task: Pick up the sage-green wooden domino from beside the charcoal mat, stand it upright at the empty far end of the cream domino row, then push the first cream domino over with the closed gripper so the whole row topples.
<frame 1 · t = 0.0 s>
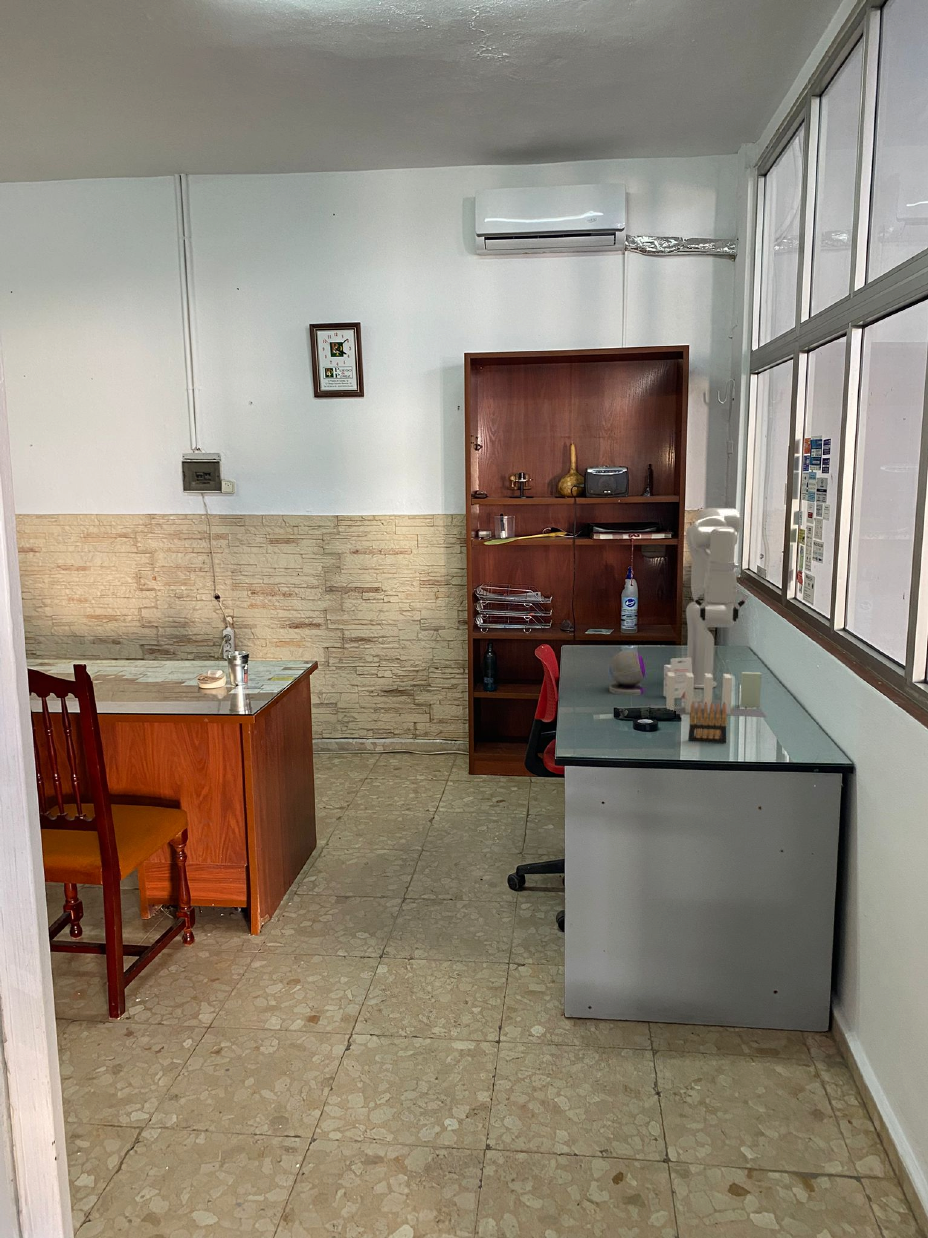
hand: (718, 620, 291), 31 cm above the table, tool pointing down, fingers open, 9 cm apart
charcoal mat: (707, 712, 299), on the table
webcam: (626, 691, 330), on the table
ammunition clip: (707, 742, 266), on the table
cream domino 2: (688, 710, 299), point 1 cm above the table, touching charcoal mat
ink cartridge box: (676, 698, 319), on the table
cream domino 4: (726, 711, 298), point 1 cm above the table, touching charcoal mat
sage domino: (749, 708, 305), on the table
cream domino 3: (707, 711, 299), point 1 cm above the table, touching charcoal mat
cream domino 1: (669, 709, 300), point 1 cm above the table, touching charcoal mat
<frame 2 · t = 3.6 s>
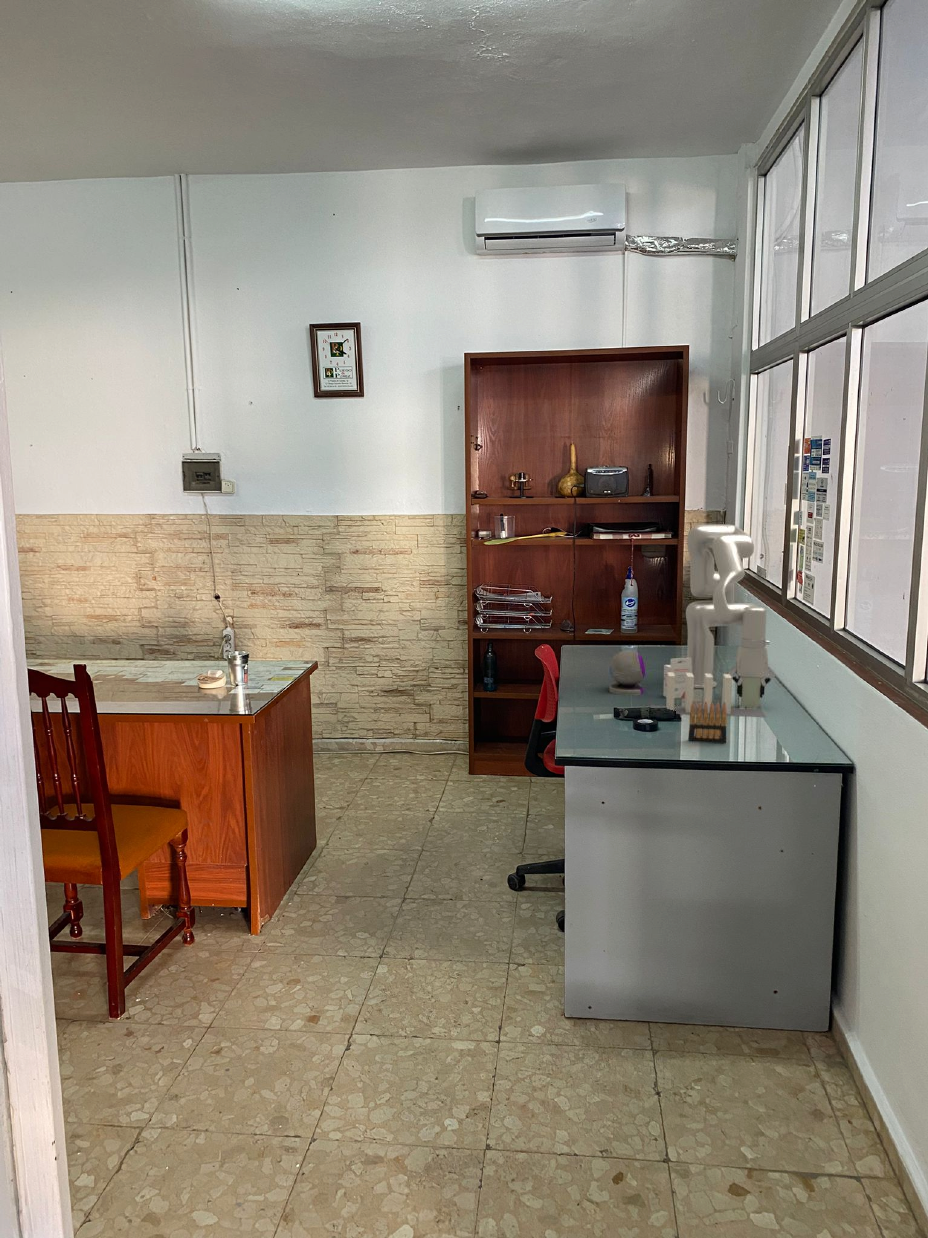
hand: (750, 696, 305), 4 cm above the table, tool pointing down, fingers closed on sage domino, 5 cm apart
sage domino: (749, 708, 305), on the table, touching gripper
everything else where it was.
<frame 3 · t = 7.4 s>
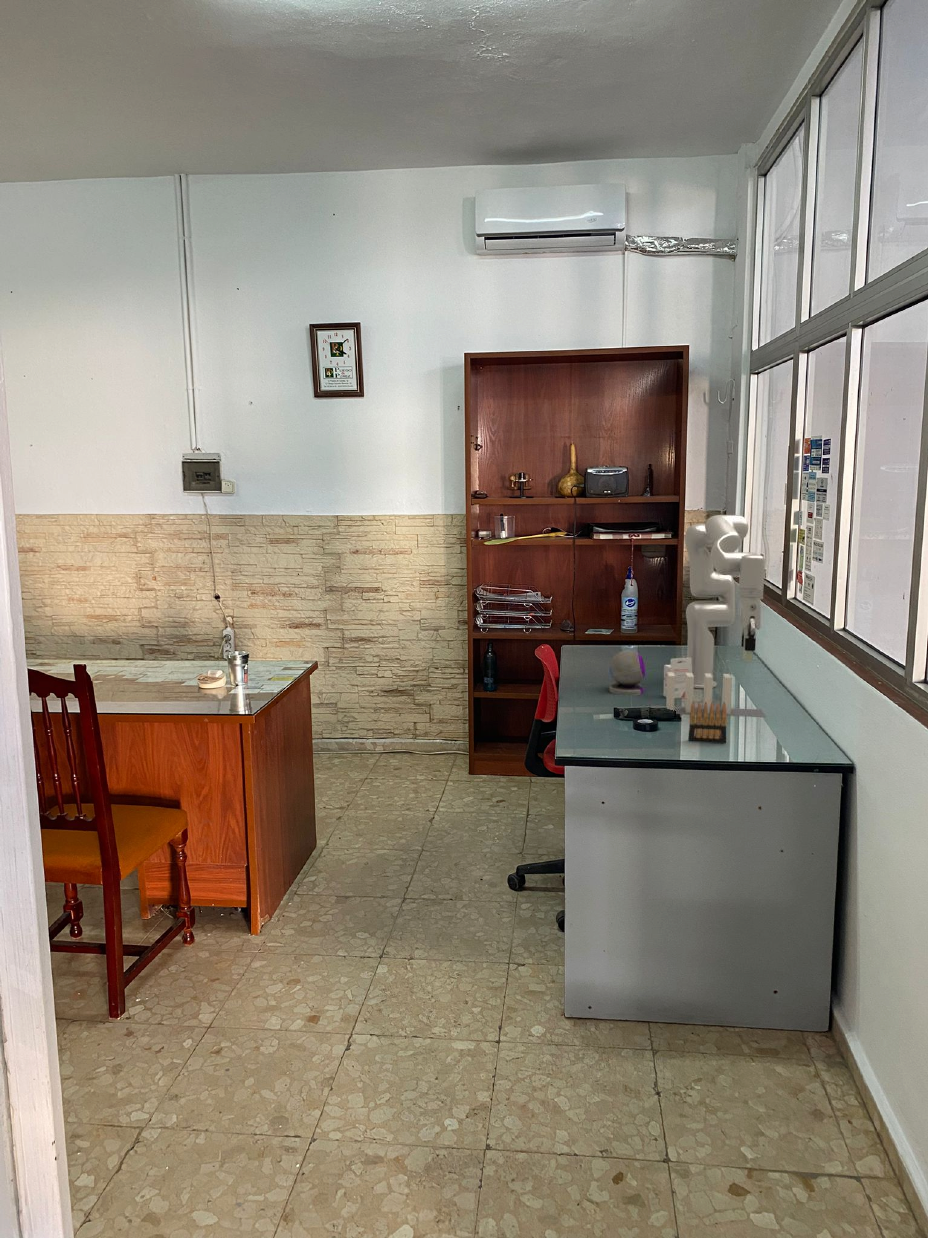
hand: (748, 648, 294), 22 cm above the table, tool pointing down, fingers closed on sage domino, 5 cm apart
sage domino: (747, 660, 294), point 18 cm above the table, touching gripper
everything else where it was.
when the fingers open (6 cm above the table, at t = 11.4 s): sage domino stays where it is, resting on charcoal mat.
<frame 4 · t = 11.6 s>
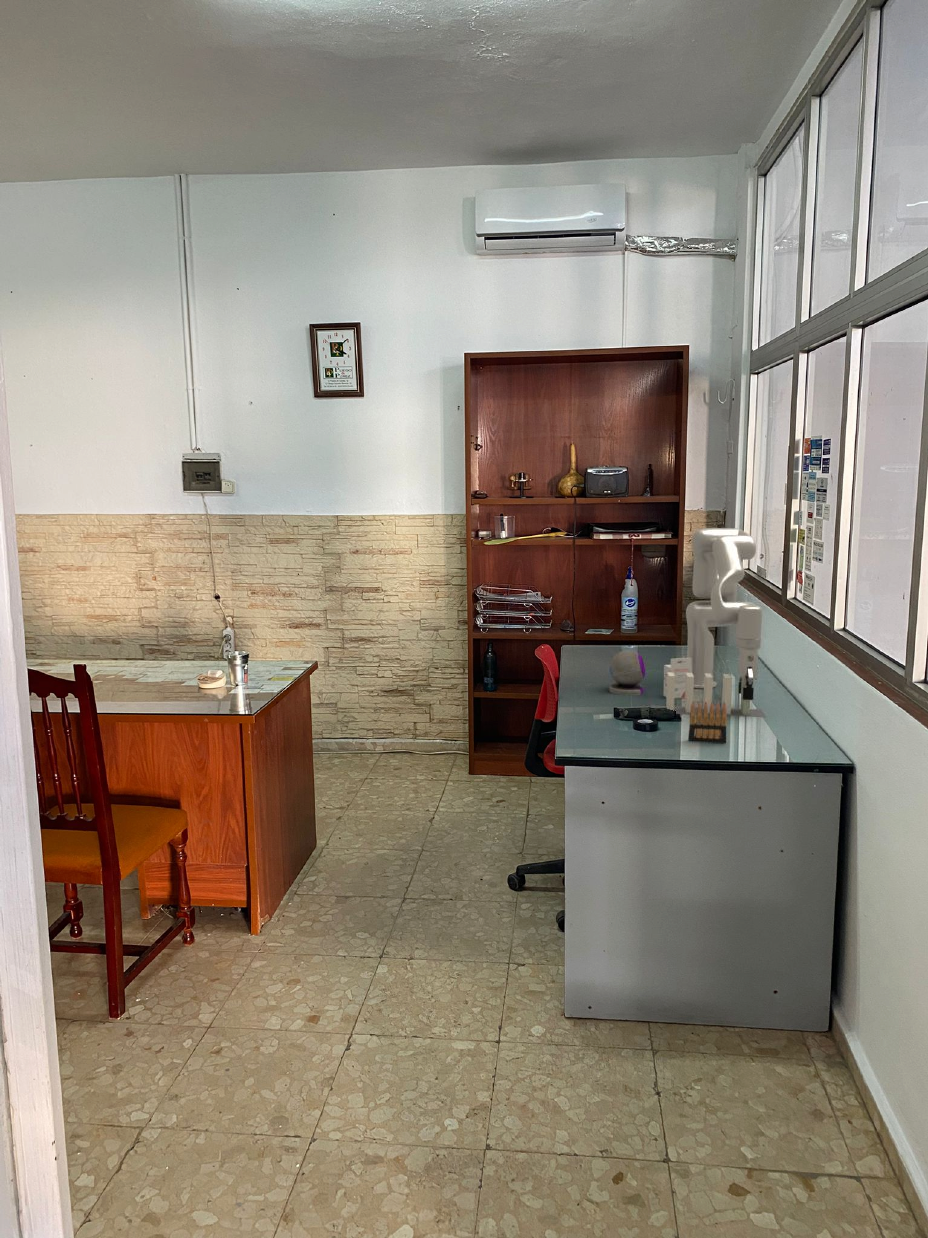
hand: (745, 696, 296), 6 cm above the table, tool pointing down, fingers open, 7 cm apart
sage domino: (744, 712, 297), point 1 cm above the table, touching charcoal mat
everything else where it was.
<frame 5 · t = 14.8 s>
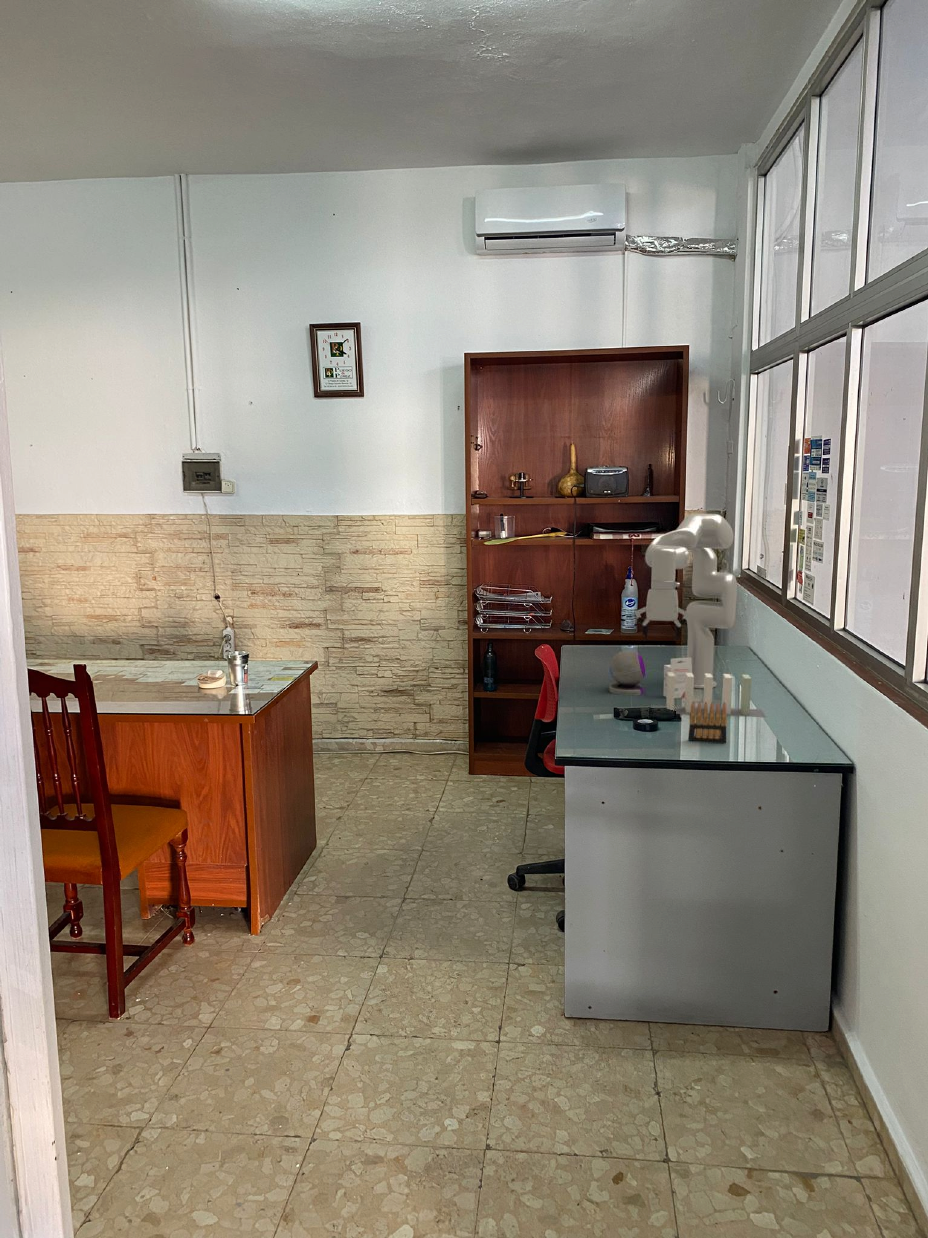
hand: (661, 637, 297), 25 cm above the table, tool pointing down, fingers open, 9 cm apart
nothing on the table moved.
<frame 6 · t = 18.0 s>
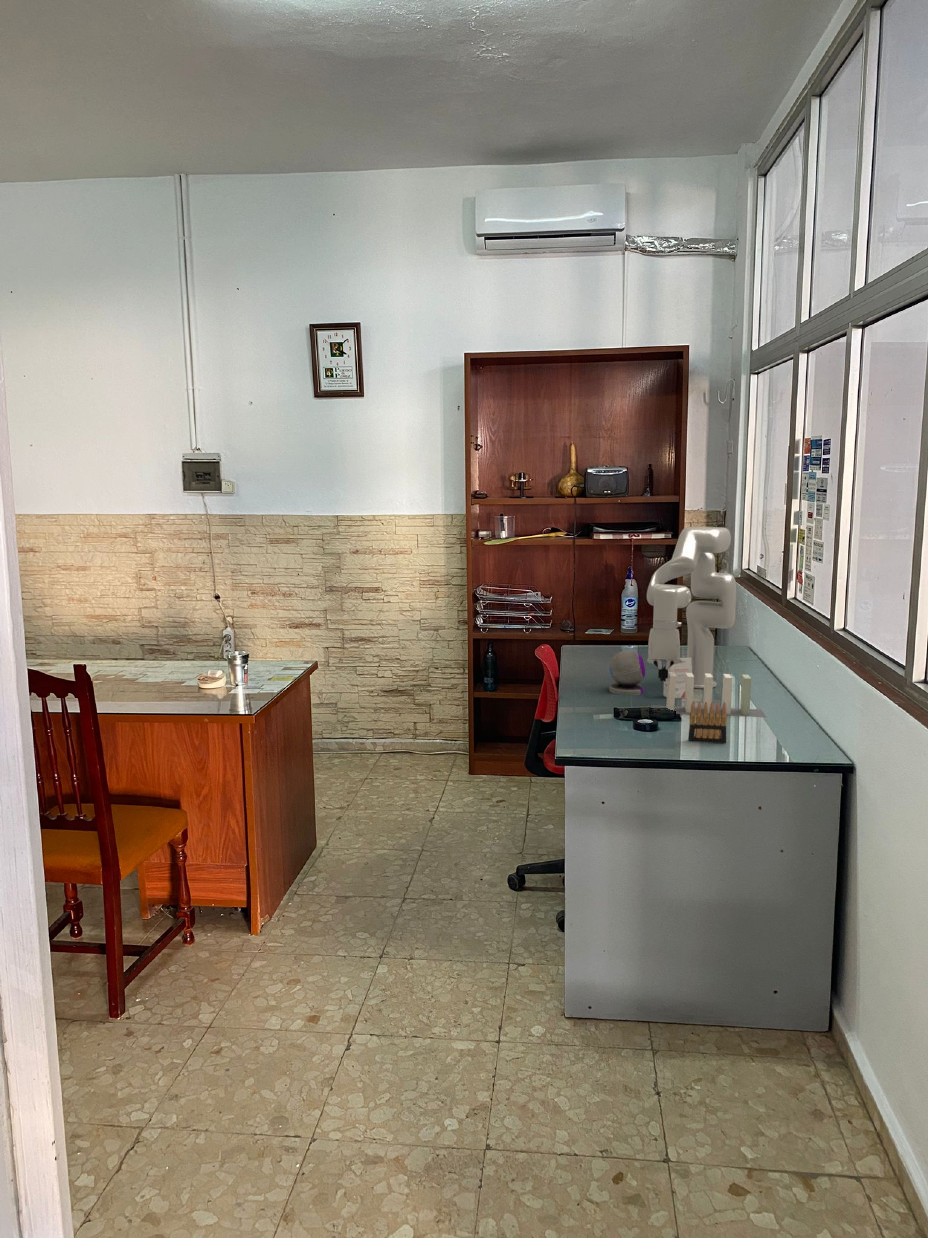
hand: (662, 680, 299), 10 cm above the table, tool pointing down, fingers closed
cream domino 1: (669, 709, 300), point 1 cm above the table, touching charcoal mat, gripper
everything else where it was.
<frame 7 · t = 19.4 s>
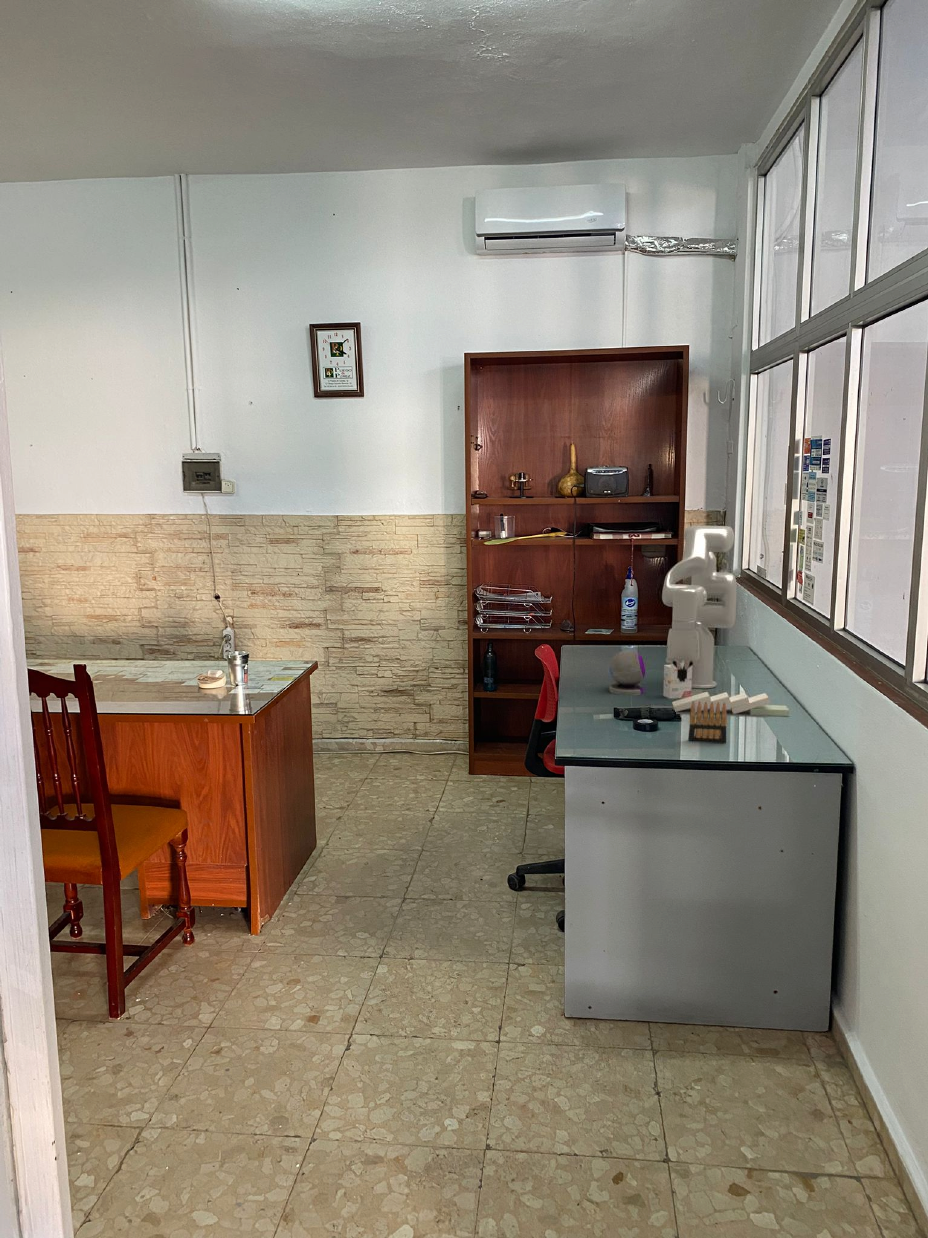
hand: (681, 680, 298), 10 cm above the table, tool pointing down, fingers closed
cream domino 2: (692, 707, 299), point 2 cm above the table, tilted 70°, touching cream domino 1, cream domino 3
cream domino 4: (731, 709, 297), point 2 cm above the table, tilted 70°, touching cream domino 3, sage domino
sage domino: (748, 709, 297), point 2 cm above the table, tilted 90°, touching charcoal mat, cream domino 4
cream domino 3: (710, 708, 298), point 2 cm above the table, tilted 71°, touching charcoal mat, cream domino 2, cream domino 4
cream domino 1: (673, 707, 300), point 2 cm above the table, tilted 71°, touching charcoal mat, cream domino 2
everything else where it was.
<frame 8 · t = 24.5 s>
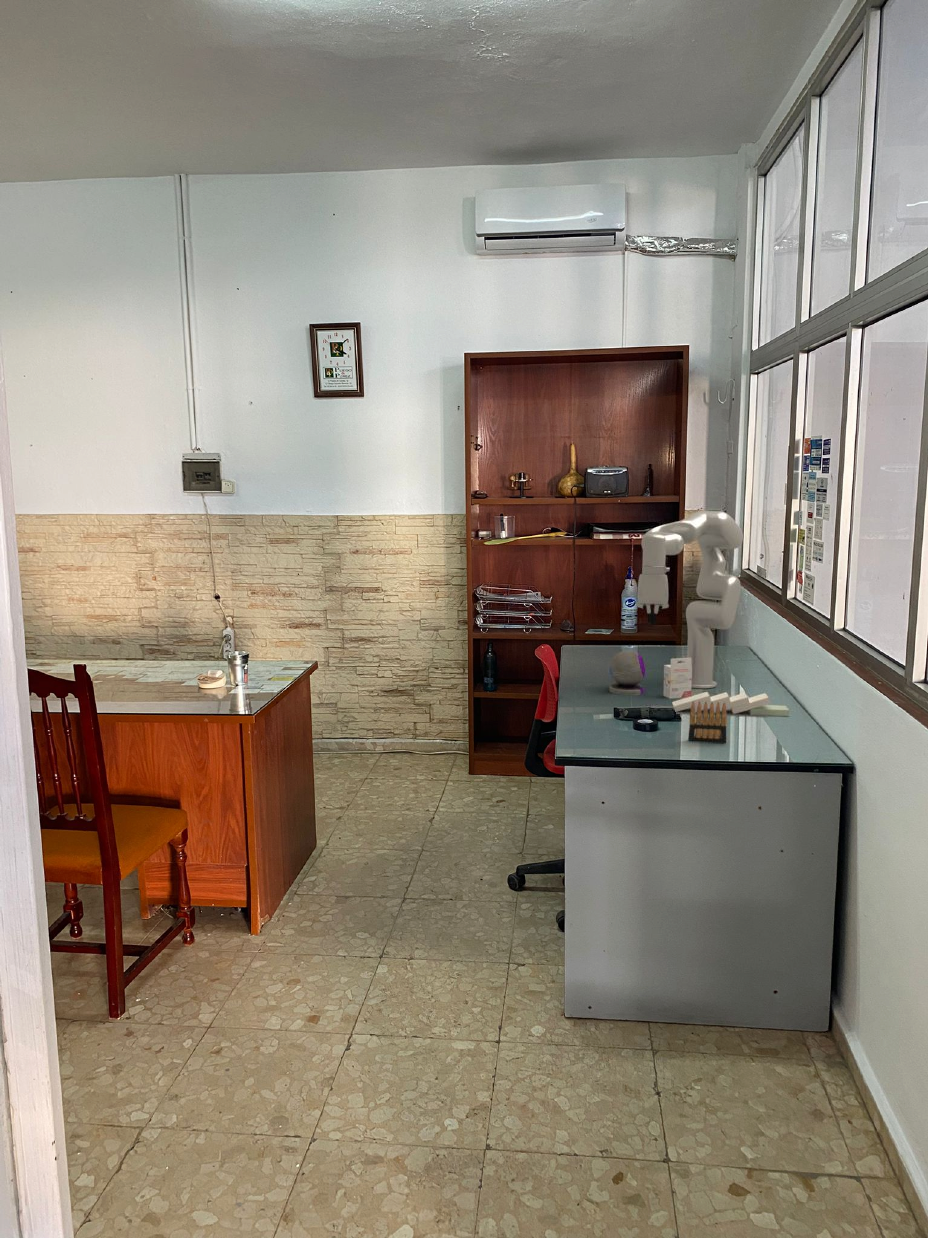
hand: (651, 624, 309), 27 cm above the table, tool pointing down, fingers closed
nothing on the table moved.
at the end: sage domino inside the target area (0.7 cm from its centre), point 1.6 cm above the table; sage domino tilted 90°; the gripper is holding nothing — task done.
